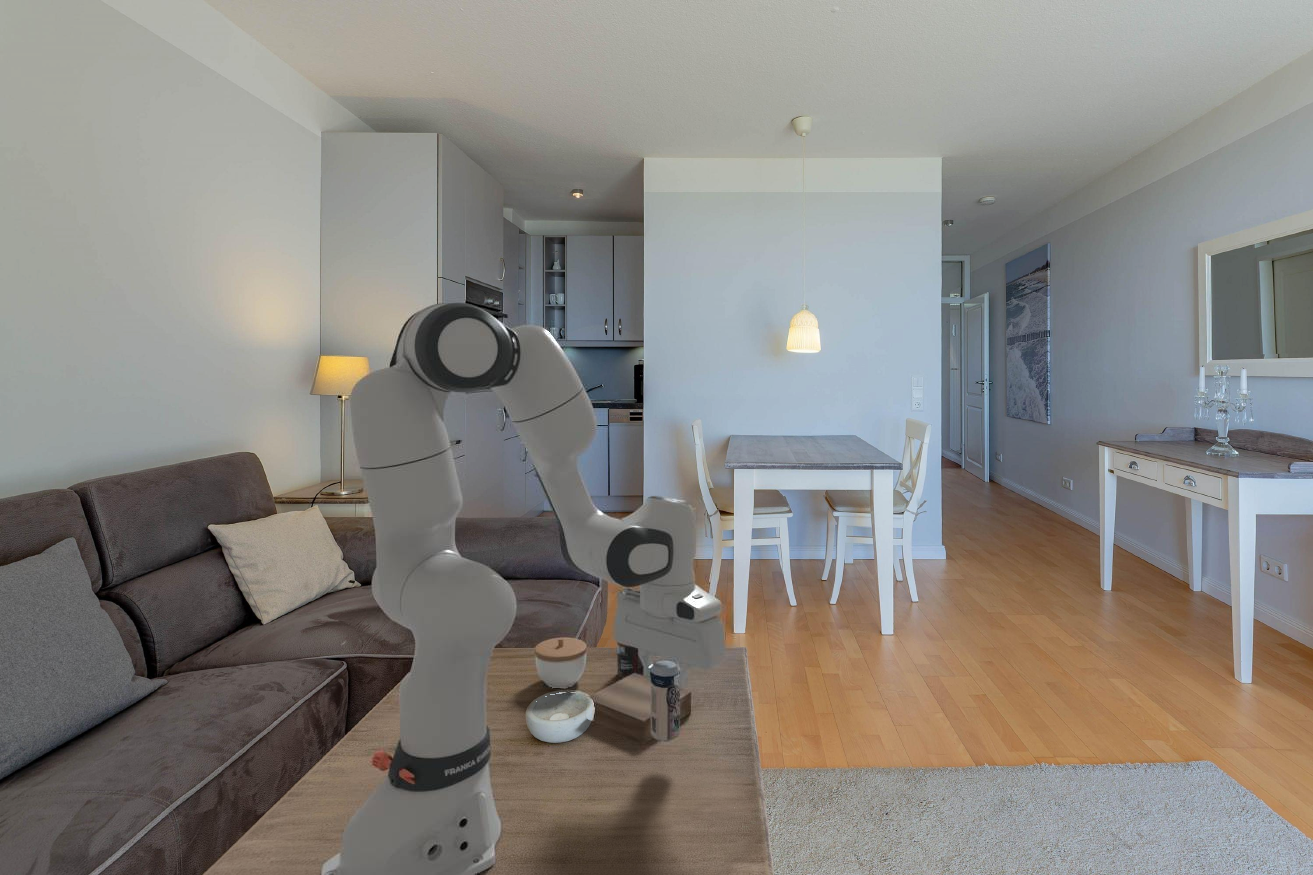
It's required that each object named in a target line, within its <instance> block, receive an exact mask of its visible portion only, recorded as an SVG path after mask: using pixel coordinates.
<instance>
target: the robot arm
mask: <svg viewBox="0 0 1313 875" xmlns="http://www.w3.org/2000/svg"><path fill="white" fill-rule="evenodd" d="M486 389H490V390H492V391H493V392H494V394H496V396H497V398H498V399H499V400H500V401H501V402H502V404H503V406H504V409H505V412H506V413H507V414H508V416H509V419H510V421H511V423H512V424H513V426H514V428H515V430H516V432H517V434H518V436H519V437H520V440H521V441H522V443H523V446H524V447H525V449H526V451H527V454H528V455H529V458H530V460H531V463H532V466H533V469H534V471H535V474H536V476H537V479H538V481H539V483H540V485H541V488H542V490H543V492H544V495H545V497H546V499H547V501H548V504H549V506H550V508H551V510H552V513H553V515H554V517H555V520H556V523H557V526H558V531H559V532H558V533H559V534H558V535H559V543H560V545H559V546H560V549H561V555H562V557H563V559H564V561H565V562H566V564H567V565H568V566H569V567H570V568H571V569H572V570H574V571H575V572H577V573H580V574H583V575H584V574H585V575H589V576H592V577H596V578H598V579H600V580H603V581H605V582H609V583H611V584H614V585H617V586H619V587H624V588H623V589H621V590H620V591H619V592H618V593H617V602H616V604H617V606H616V610H615V614H614V620H613V631H612V632H613V637H614V640H615V641H616V643H617V642H619V643H622V644H625V645H628V646H632V647H635V648H638V655H639V658H640V660H641V662H642V665H643V666H644V675H643V676H645V677H648V678H651V668H652V666H653V664H654V661H653V658H652V655H651V654H654V655H658V656H662V657H663V658H664V657H665V658H666V659H670V660H674V661H676V662H677V661H678V662H679V667H680V669H681V670H680V673H679V674H678V675H675V676H674V686H675V687H678V688H681V689H685V688H687V687H688V683H689V682H688V680H689V676H690V674H691V672H692V671H693V670H694V669H693V668H694V667H696V668H700V669H703V670H704V671H705V670H706V671H711V670H713V669H715V668H717V667H719V666H720V665H721V664H722V663H723V662H724V659H725V654H726V653H725V650H726V649H725V648H726V645H725V643H726V641H725V640H726V639H725V628H724V624H723V622H722V620H721V618H720V616H718V615H720V614H721V613H722V611H723V603H722V601H721V600H719V599H718V598H717V597H715V596H713V595H712V594H710V593H708V592H707V591H705V590H704V589H702V588H701V587H700V586H698V585H697V584H696V575H695V574H696V573H695V572H694V571H695V570H694V560H695V558H696V553H697V527H696V525H697V524H696V517H695V513H694V512H695V511H694V509H693V507H692V505H691V504H690V503H689V502H687V501H686V500H683V499H677V498H672V497H667V496H661V495H651V496H648V497H647V498H646V499H645V501H644V503H643V504H642V505H641V506H640V507H639V508H638V509H636V510H635V511H634V512H632V513H631V514H629V515H627V516H625V517H622V518H616V517H612V516H609V515H607V514H606V513H604V512H602V510H600V509H598V508H597V507H596V506H595V505H594V503H593V501H592V499H591V496H590V494H589V491H588V489H587V486H586V484H585V482H584V480H583V476H582V474H581V471H580V468H579V465H578V464H579V463H578V458H579V457H580V456H581V455H582V454H583V453H585V452H586V450H587V449H588V448H589V447H590V446H591V444H592V442H593V440H594V439H595V435H596V432H597V427H598V423H597V419H596V414H595V410H594V406H593V404H592V402H591V400H590V397H589V395H588V393H587V390H586V389H585V387H584V384H583V383H582V380H581V378H580V377H579V375H578V372H577V371H576V369H575V367H574V366H573V364H572V362H571V361H570V359H569V358H568V356H567V354H566V353H565V351H564V350H563V349H562V347H561V345H560V344H559V343H558V342H557V340H556V338H554V336H553V335H552V334H551V333H550V331H548V329H546V328H544V327H542V326H539V325H536V324H535V325H534V324H522V325H518V326H515V327H509V326H507V325H505V324H504V323H503V322H501V321H500V320H499V319H497V318H496V317H494V315H492V314H491V313H489V312H487V311H486V310H485V309H483V308H481V307H478V306H476V305H473V304H470V303H465V302H440V303H439V302H438V303H435V304H431V305H429V306H427V307H424V308H423V309H421V310H419V311H417V312H415V313H413V314H412V315H411V316H410V317H409V318H408V319H407V320H406V321H405V323H404V324H403V326H402V327H401V329H400V331H399V333H398V337H397V340H396V343H395V347H394V350H393V353H392V356H391V359H390V362H389V367H385V368H382V369H378V370H375V371H372V372H370V373H367V374H366V375H365V376H363V377H362V378H361V379H359V380H358V381H357V382H356V383H355V384H354V386H353V387H352V389H351V392H350V417H351V420H350V421H351V428H352V435H353V442H354V448H355V453H356V457H357V462H358V465H359V470H360V473H361V477H362V481H363V485H364V489H365V492H366V496H367V500H368V503H369V509H370V513H371V515H372V520H373V521H372V522H373V527H374V534H375V535H374V536H375V554H376V556H375V557H376V558H375V559H376V560H375V562H376V567H375V569H374V571H373V574H372V578H371V592H372V595H373V598H374V600H375V601H376V603H377V605H379V607H380V609H381V610H382V611H383V613H384V614H385V615H386V616H387V617H388V618H389V619H390V620H391V621H393V622H395V623H396V624H398V625H401V626H402V627H404V628H406V629H408V630H410V631H411V633H412V635H413V638H414V642H415V644H414V645H415V646H414V647H415V648H414V656H413V660H412V664H411V668H410V671H409V672H408V673H406V675H405V676H404V677H403V678H402V680H401V682H400V685H399V690H398V699H399V700H398V701H399V703H398V704H399V706H398V707H399V731H400V733H399V734H400V735H399V737H400V739H399V741H398V742H397V745H396V748H395V749H394V750H395V751H394V754H393V756H392V755H391V754H388V753H387V752H386V751H385V750H378V751H376V752H375V753H374V754H373V757H371V763H372V764H371V765H372V766H373V767H374V768H377V769H378V770H379V771H381V772H384V771H387V770H388V772H387V776H386V777H385V778H384V780H383V781H382V782H381V783H380V784H379V785H378V787H377V788H376V789H375V790H374V791H373V792H372V793H371V795H370V796H369V797H368V798H367V799H366V800H365V801H364V803H363V804H362V805H361V806H360V807H359V809H357V811H356V812H355V813H354V814H353V815H352V816H351V817H350V818H349V819H348V821H347V823H346V825H345V827H344V830H343V833H342V838H341V843H340V849H339V850H340V851H339V852H338V853H337V854H335V855H334V856H332V857H331V858H330V859H328V860H327V861H326V862H324V863H323V864H322V867H321V872H320V875H475V874H476V875H477V873H478V874H479V873H482V872H484V871H485V870H487V869H489V868H491V867H492V866H493V865H494V864H495V862H496V851H495V848H496V845H497V842H498V841H499V839H500V836H501V832H502V822H501V819H500V817H499V814H498V811H497V808H496V804H495V801H494V800H495V799H494V795H493V790H492V783H491V778H490V767H489V760H490V759H491V749H492V747H491V732H490V727H489V726H488V724H487V677H488V670H489V665H490V661H491V658H492V654H493V651H494V648H495V647H496V646H497V645H498V644H499V643H501V642H502V641H503V640H504V639H505V637H506V636H507V635H508V633H509V632H510V630H511V628H512V627H513V624H514V623H515V622H514V621H515V617H516V613H517V598H516V595H515V592H514V591H515V590H514V589H513V587H512V586H511V584H510V583H509V582H508V581H506V579H504V578H503V577H502V576H501V575H500V574H499V573H497V572H496V571H495V570H494V569H492V568H490V566H488V565H485V564H483V563H480V562H477V561H474V560H472V559H468V558H466V557H463V556H461V554H460V552H459V551H458V549H457V546H456V538H455V537H456V532H455V531H456V520H457V516H458V515H459V514H460V512H461V510H462V508H463V502H464V500H463V494H462V490H461V486H460V481H459V477H458V474H457V473H458V472H457V468H456V465H455V464H456V462H455V460H454V456H453V451H452V446H451V442H450V438H449V434H448V431H447V428H446V425H445V420H446V419H445V411H446V410H445V409H446V403H447V402H448V401H447V400H448V399H449V396H450V395H451V393H453V392H454V393H472V392H478V391H483V390H486ZM634 587H639V589H635V588H634Z"/></svg>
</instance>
